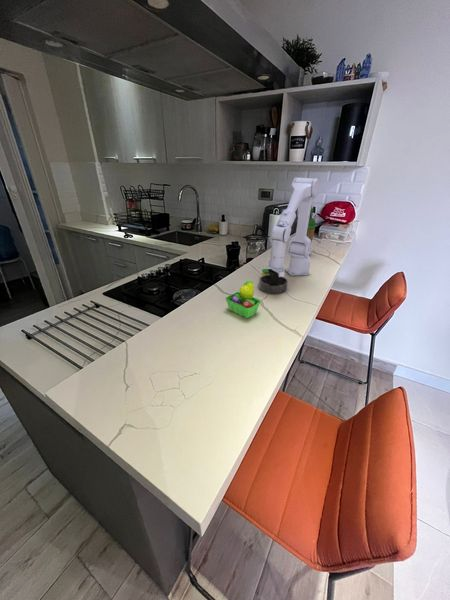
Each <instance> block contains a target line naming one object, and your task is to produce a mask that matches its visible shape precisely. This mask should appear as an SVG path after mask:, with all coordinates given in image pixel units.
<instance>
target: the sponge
mask: <svg viewBox="0 0 450 600" xmlns="http://www.w3.org/2000/svg"><path fill="white" fill-rule="evenodd" d="M264 275H270V274H269V271H268V268H262V270H261V277H262V276H264Z"/></svg>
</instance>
